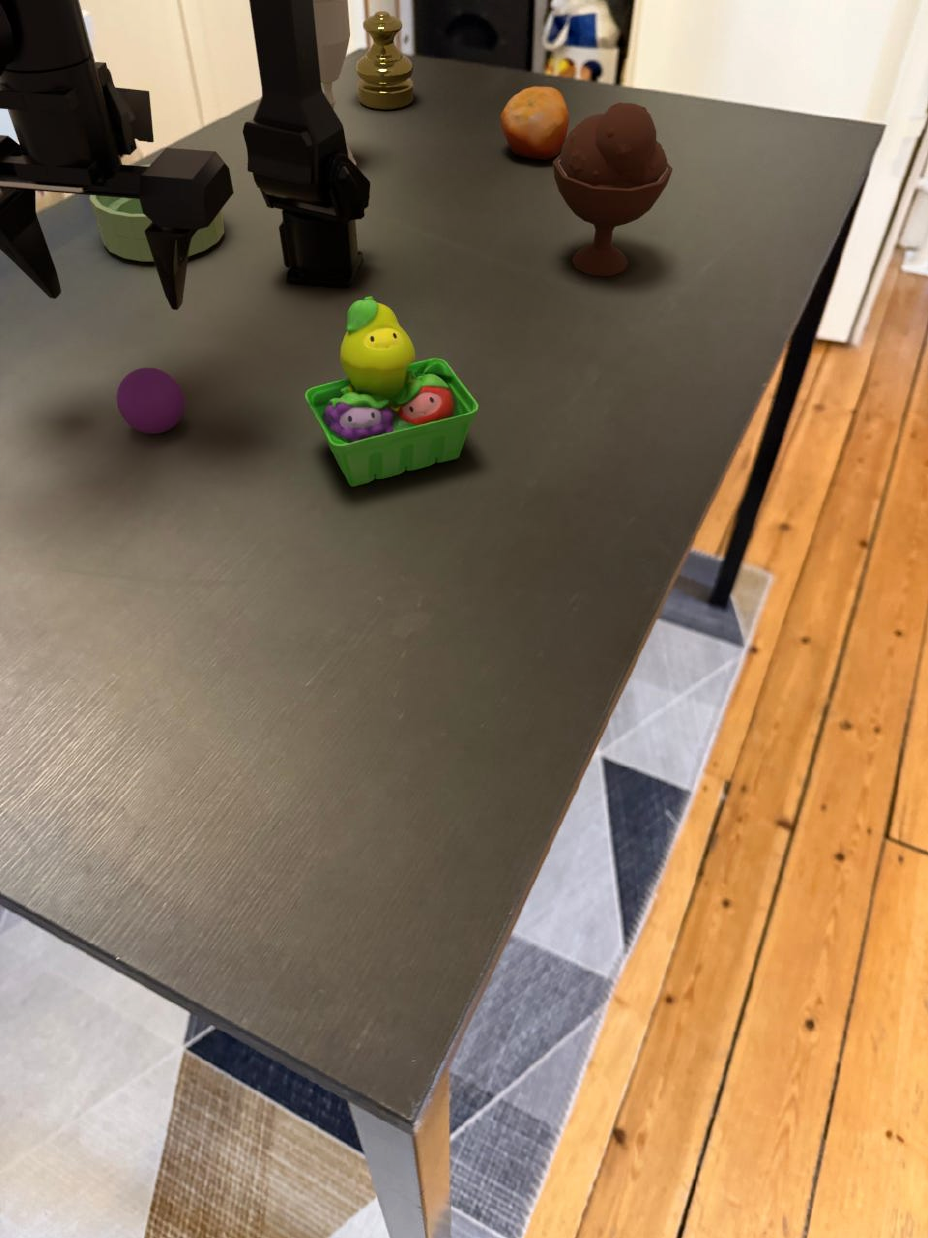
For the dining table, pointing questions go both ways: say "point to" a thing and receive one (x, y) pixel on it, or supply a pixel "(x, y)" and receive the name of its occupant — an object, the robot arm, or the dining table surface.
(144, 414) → the ball
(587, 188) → the ice cream bowl
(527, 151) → the fruit
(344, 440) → the fruit basket
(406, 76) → the gold chess piece
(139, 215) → the green bowl
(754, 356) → the dining table surface
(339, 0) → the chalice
